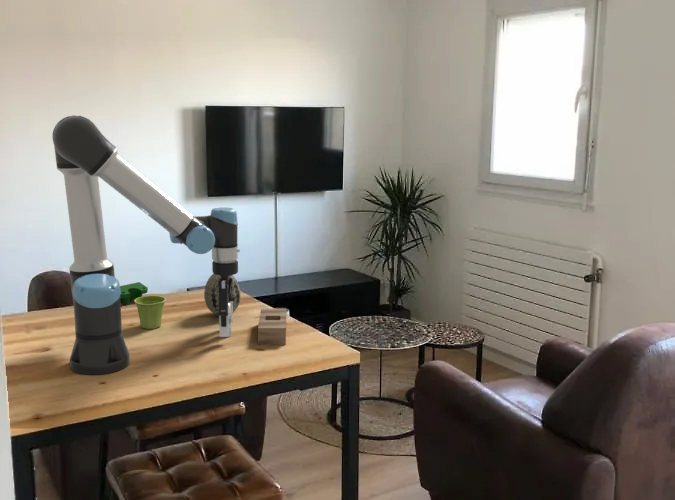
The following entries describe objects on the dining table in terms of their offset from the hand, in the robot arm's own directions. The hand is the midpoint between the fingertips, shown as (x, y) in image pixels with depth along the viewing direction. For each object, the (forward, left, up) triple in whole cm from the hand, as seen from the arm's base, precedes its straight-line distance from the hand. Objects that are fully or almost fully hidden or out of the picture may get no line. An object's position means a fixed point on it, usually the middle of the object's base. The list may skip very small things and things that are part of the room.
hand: (226, 329), depth 218 cm
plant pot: (+9, +24, -2) cm, 26 cm away
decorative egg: (+21, +3, -2) cm, 21 cm away
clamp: (+36, +36, -2) cm, 51 cm away
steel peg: (0, 0, -2) cm, 2 cm away
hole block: (+2, -14, -2) cm, 14 cm away
